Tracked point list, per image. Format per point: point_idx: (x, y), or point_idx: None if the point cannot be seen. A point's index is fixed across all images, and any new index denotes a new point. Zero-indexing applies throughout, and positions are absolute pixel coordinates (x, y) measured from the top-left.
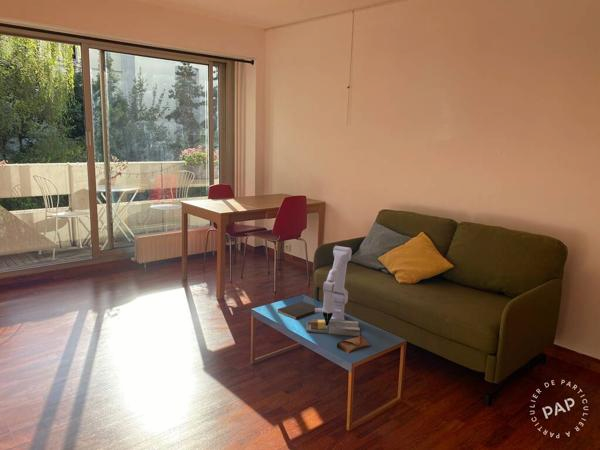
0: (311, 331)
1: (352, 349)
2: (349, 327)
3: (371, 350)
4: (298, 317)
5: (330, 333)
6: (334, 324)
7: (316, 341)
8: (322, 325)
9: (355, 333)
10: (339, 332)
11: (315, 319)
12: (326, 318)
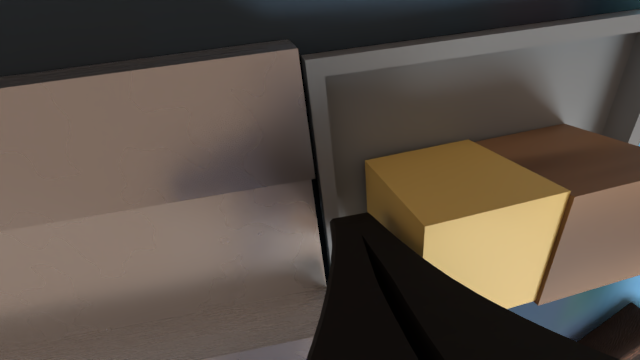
0: (582, 18)
1: None
2: None
3: None
4: (617, 334)
5: (253, 44)
6: (238, 312)
7: None
8: (434, 181)
9: None
10: (59, 72)
11: (572, 293)
12: (446, 320)
